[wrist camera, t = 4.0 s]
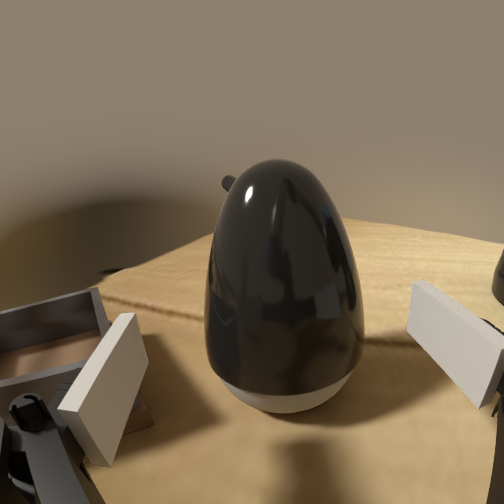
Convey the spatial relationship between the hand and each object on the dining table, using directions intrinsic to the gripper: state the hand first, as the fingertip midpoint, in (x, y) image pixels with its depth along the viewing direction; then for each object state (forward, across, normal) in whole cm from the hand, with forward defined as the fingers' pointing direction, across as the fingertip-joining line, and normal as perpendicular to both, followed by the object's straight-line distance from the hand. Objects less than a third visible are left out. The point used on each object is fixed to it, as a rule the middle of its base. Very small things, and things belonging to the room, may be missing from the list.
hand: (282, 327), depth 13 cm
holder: (+5, -19, -8) cm, 21 cm away
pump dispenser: (+5, +1, -8) cm, 10 cm away
